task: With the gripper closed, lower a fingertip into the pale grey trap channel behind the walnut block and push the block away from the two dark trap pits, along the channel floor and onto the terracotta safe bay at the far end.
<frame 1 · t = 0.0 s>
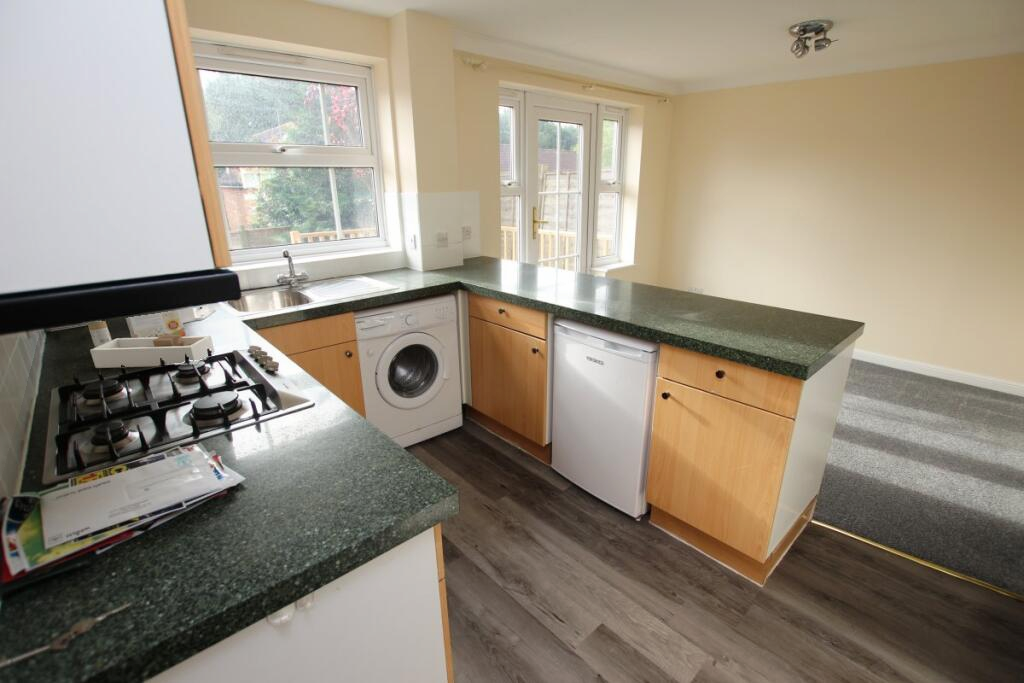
hand: (74, 192, 137), 48 cm above the worktop, tool pointing down, fingers open, 8 cm apart
walnut block: (170, 350, 141), point 3 cm above the worktop, touching trap channel
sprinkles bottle: (106, 354, 147), on the worktop
cracker box: (160, 340, 160), on the worktop
trap channel: (157, 359, 142), on the worktop
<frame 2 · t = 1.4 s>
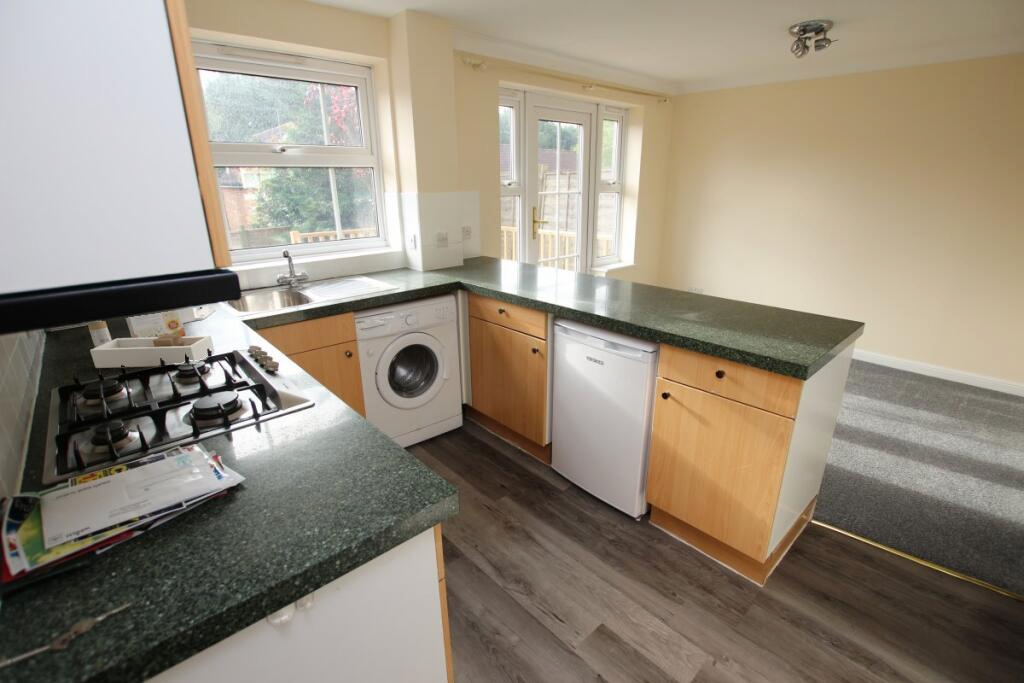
hand: (117, 274, 134), 26 cm above the worktop, tool pointing down, fingers open, 8 cm apart
nothing on the worktop moved.
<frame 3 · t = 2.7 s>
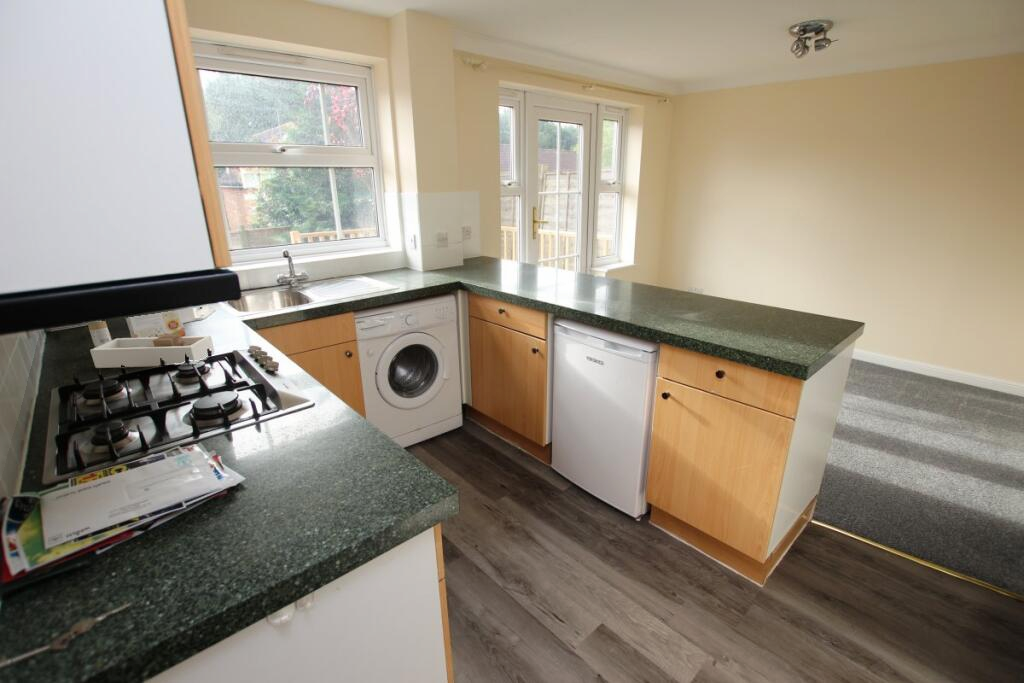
hand: (128, 293, 135), 20 cm above the worktop, tool pointing down, fingers closed
nothing on the worktop moved.
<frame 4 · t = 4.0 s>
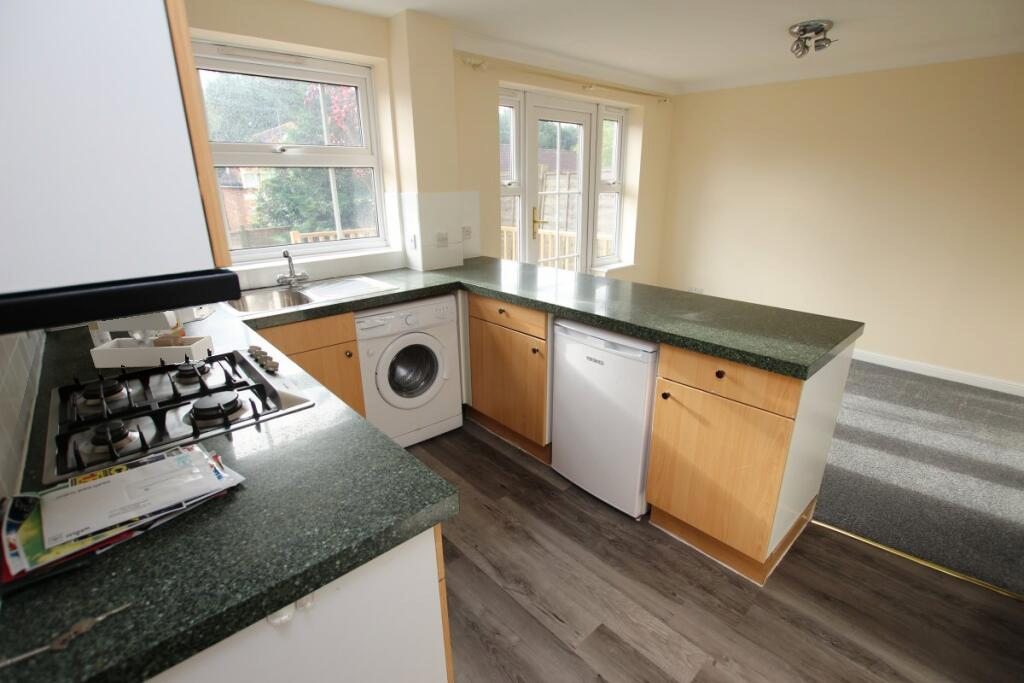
hand: (143, 344, 140), 5 cm above the worktop, tool pointing down, fingers closed
nothing on the worktop moved.
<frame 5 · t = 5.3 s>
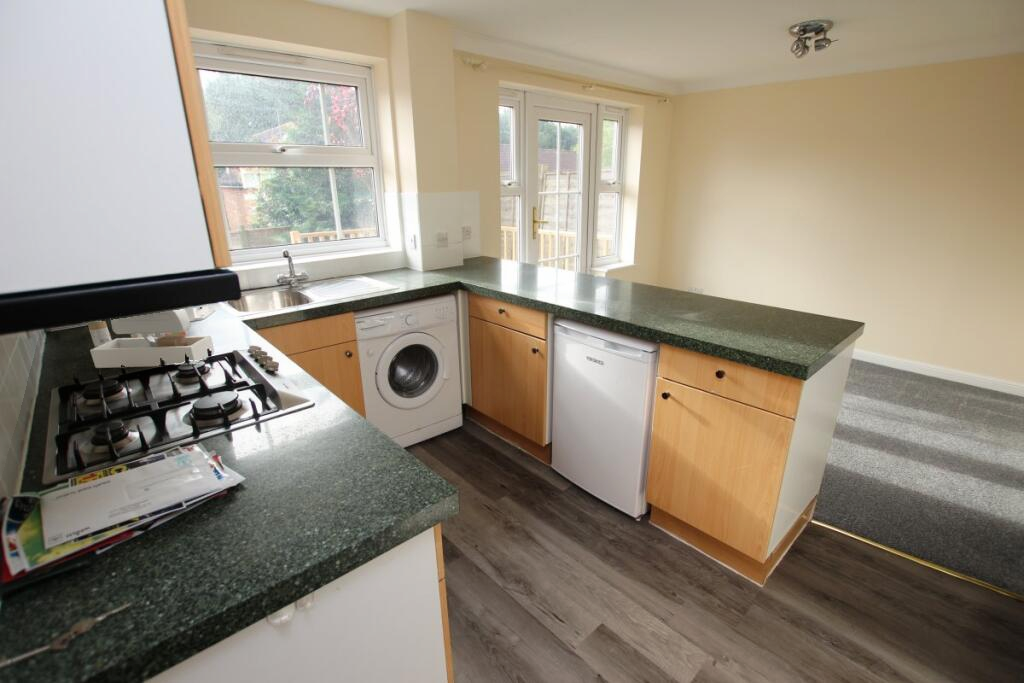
hand: (157, 346, 140), 4 cm above the worktop, tool pointing down, fingers closed
walnut block: (174, 350, 141), point 3 cm above the worktop, touching gripper, trap channel
everything else where it was.
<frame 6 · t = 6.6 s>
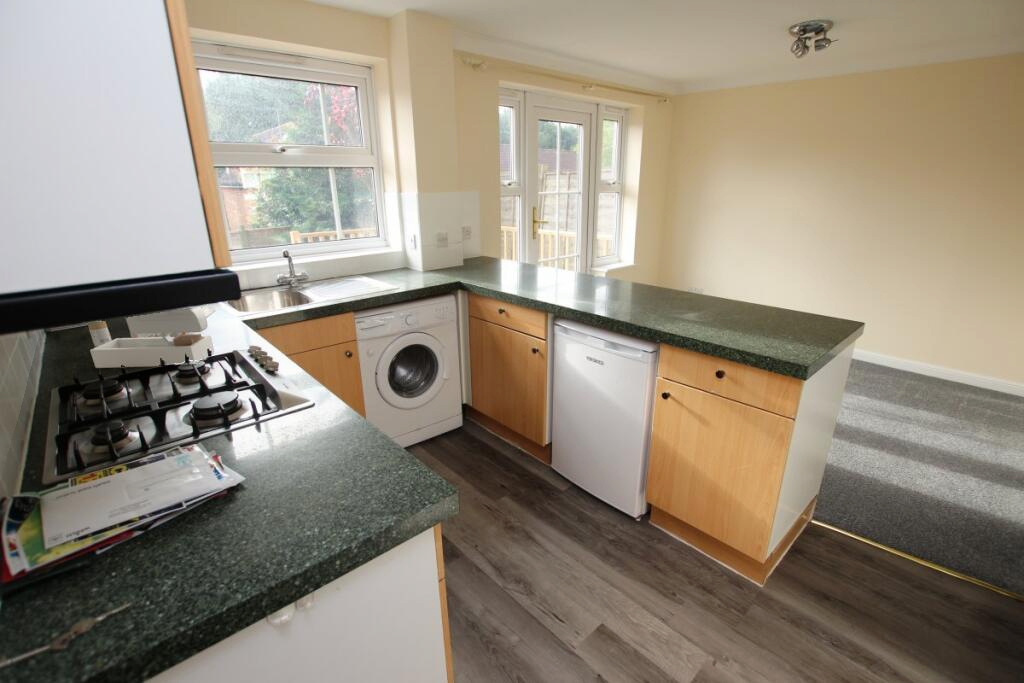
hand: (174, 346, 140), 4 cm above the worktop, tool pointing down, fingers closed
walnut block: (190, 349, 141), point 3 cm above the worktop, touching gripper, trap channel
everything else where it was.
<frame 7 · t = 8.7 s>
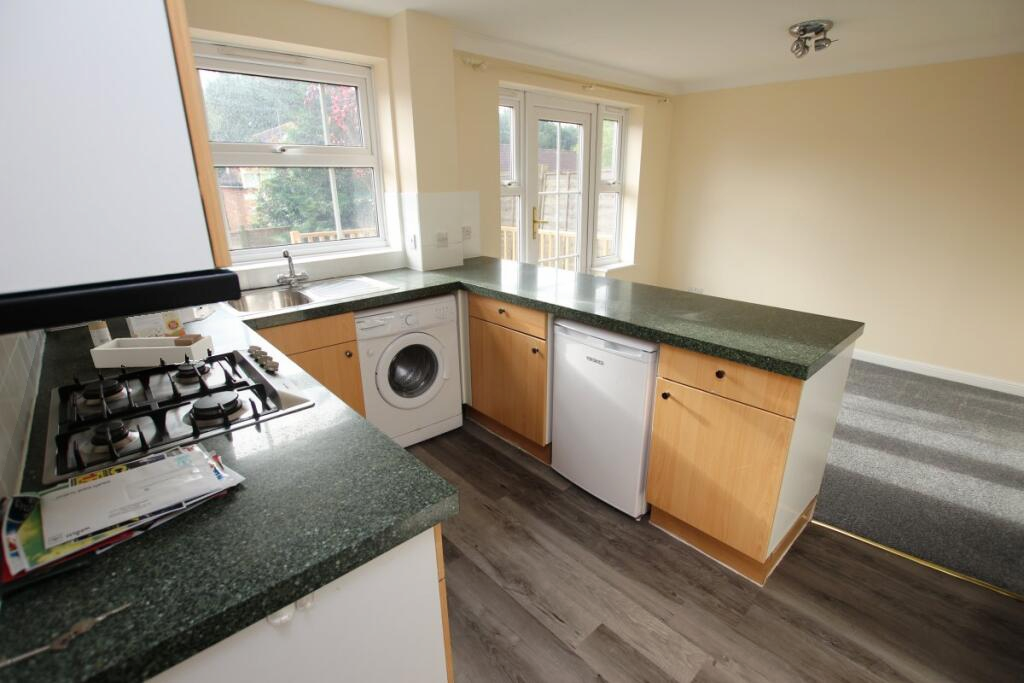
hand: (147, 285, 134), 23 cm above the worktop, tool pointing down, fingers closed
walnut block: (190, 349, 141), point 3 cm above the worktop, touching trap channel
everything else where it was.
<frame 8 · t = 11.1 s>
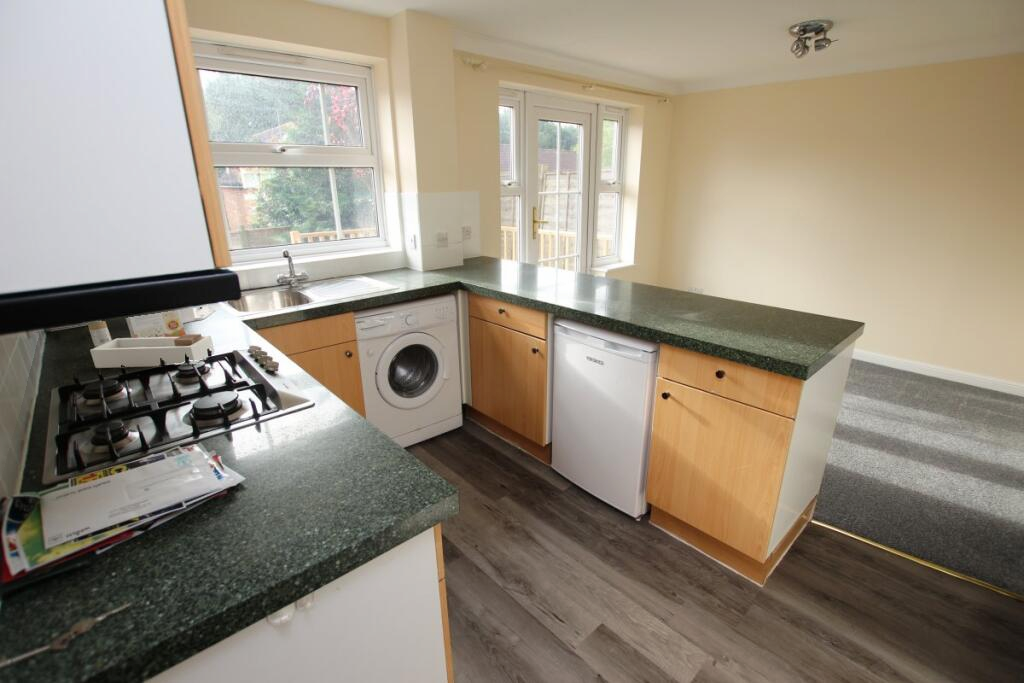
hand: (116, 244, 140), 33 cm above the worktop, tool pointing down, fingers closed
nothing on the worktop moved.
at the end: walnut block 0.3 cm from the target spot, point 3.0 cm above the worktop; walnut block tilted 0° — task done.
